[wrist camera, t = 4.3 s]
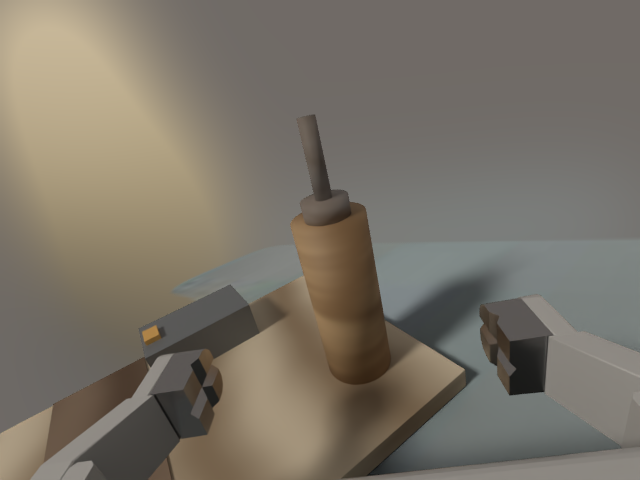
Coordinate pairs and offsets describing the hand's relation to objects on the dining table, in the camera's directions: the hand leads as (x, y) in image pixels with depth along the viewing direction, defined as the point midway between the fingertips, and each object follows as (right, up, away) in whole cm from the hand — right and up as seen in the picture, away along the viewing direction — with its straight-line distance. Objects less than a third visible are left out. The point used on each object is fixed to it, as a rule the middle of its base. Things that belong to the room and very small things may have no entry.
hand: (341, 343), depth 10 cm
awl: (+1, -3, +7) cm, 8 cm away
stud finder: (-8, -3, +11) cm, 14 cm away
